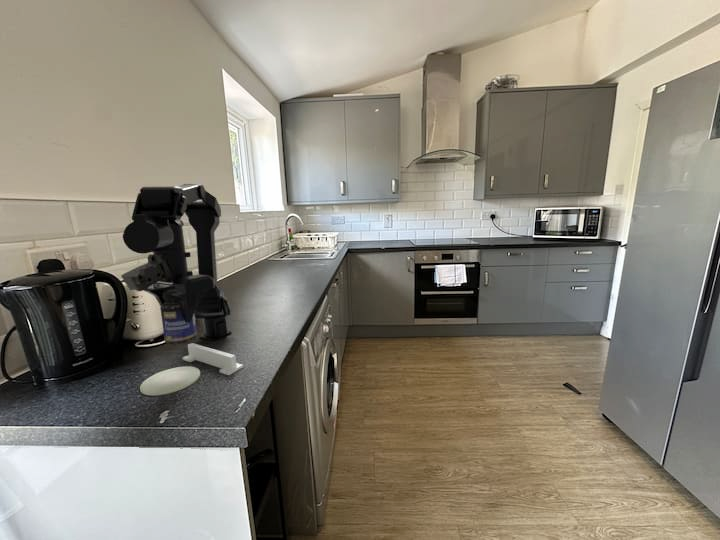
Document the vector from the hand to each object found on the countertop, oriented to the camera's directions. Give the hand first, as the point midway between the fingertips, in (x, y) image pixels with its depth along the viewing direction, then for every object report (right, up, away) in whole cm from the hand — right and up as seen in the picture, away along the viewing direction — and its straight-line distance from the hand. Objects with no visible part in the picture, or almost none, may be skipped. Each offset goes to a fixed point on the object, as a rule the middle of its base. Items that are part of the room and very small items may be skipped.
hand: (178, 320), depth 65 cm
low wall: (+4, -12, +7) cm, 14 cm away
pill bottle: (0, -5, +1) cm, 5 cm away
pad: (-1, -13, 0) cm, 13 cm away
